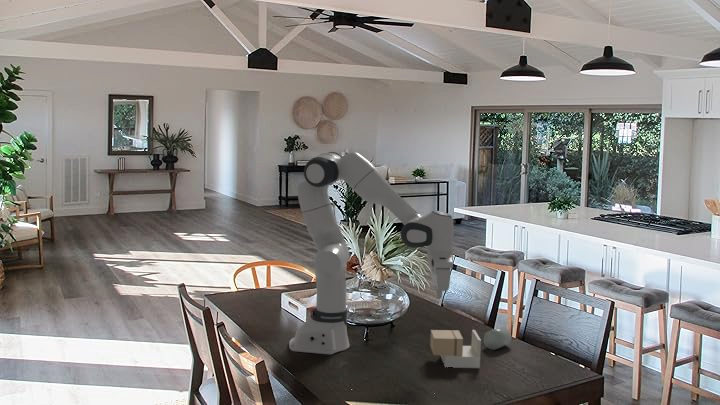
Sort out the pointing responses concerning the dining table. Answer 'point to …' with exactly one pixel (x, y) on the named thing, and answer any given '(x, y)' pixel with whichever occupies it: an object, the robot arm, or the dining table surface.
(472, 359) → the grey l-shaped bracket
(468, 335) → the dining table surface
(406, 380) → the dining table surface
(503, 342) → the grey rounded stone
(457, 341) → the carton
